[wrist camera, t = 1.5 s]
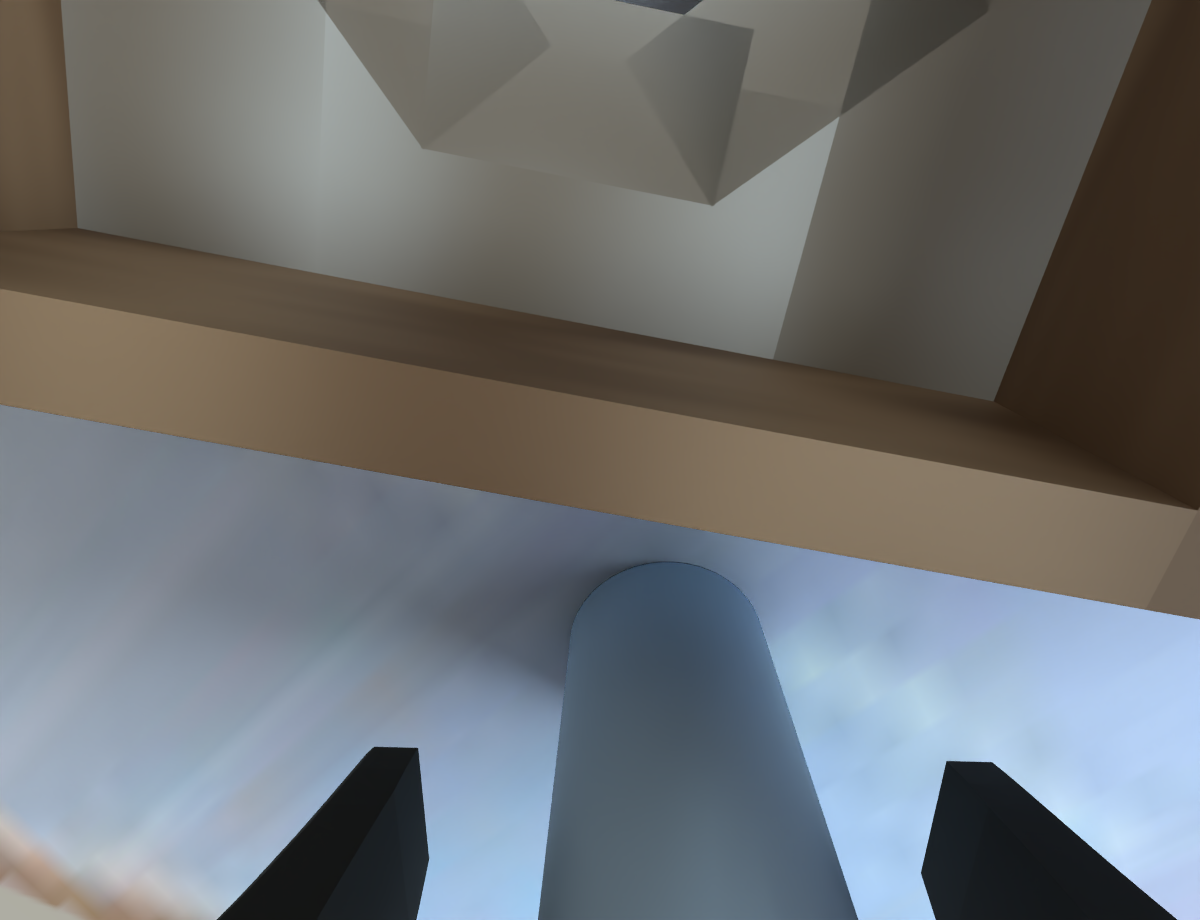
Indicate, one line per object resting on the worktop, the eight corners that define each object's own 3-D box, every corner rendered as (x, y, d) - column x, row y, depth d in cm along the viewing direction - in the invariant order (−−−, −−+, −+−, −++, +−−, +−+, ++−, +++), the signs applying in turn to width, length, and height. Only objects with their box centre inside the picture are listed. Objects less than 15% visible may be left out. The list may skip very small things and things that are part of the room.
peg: (785, 581, 13) (1121, 1356, 4) (735, 738, 14) (916, 1580, 5) (588, 546, 12) (519, 1273, 4) (555, 708, 14) (453, 1523, 5)
